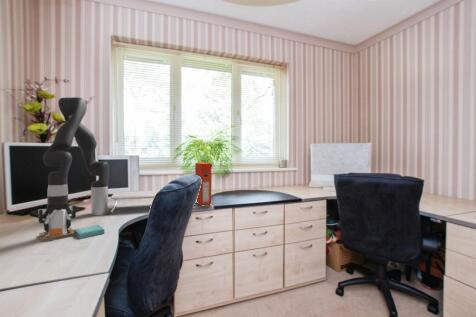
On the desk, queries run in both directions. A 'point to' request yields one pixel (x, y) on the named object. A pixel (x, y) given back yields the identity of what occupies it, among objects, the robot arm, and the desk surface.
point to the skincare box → (58, 223)
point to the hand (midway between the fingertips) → (57, 229)
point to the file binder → (204, 182)
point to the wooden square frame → (44, 238)
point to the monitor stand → (132, 196)
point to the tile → (89, 231)
